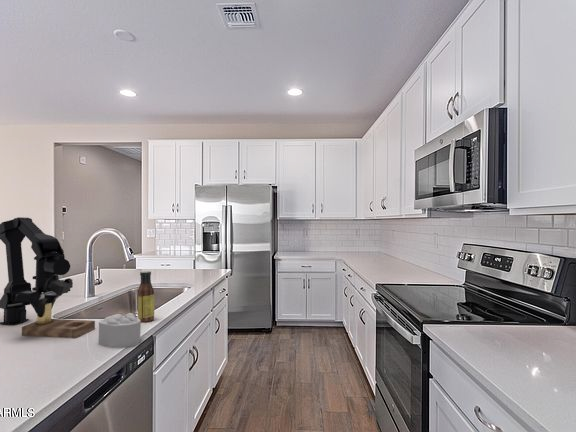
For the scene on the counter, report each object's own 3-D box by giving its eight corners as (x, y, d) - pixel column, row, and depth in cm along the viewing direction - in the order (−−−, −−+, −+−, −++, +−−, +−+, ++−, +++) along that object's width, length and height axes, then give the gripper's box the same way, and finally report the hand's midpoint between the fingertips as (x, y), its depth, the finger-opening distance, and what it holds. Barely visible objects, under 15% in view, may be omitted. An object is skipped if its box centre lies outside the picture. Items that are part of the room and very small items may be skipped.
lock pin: (36, 332, 122) (37, 304, 122) (43, 329, 125) (44, 302, 125) (44, 332, 122) (45, 304, 122) (51, 330, 125) (51, 302, 125)
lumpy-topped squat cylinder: (119, 334, 122) (119, 310, 122) (148, 339, 117) (148, 314, 117) (93, 344, 112) (94, 317, 112) (124, 350, 107) (125, 322, 108)
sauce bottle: (157, 318, 142) (158, 270, 142) (149, 323, 135) (150, 273, 136) (142, 317, 142) (143, 270, 142) (133, 322, 136) (135, 272, 136)
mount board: (21, 335, 119) (21, 326, 119) (44, 326, 129) (44, 318, 129) (75, 338, 117) (76, 329, 117) (94, 328, 127) (94, 320, 127)
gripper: (46, 277, 114) (44, 324, 113) (84, 269, 132) (82, 310, 132) (14, 276, 114) (13, 323, 114) (57, 268, 133) (55, 308, 133)
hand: (44, 315), depth 123 cm, fingers closed on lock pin, 3 cm apart
